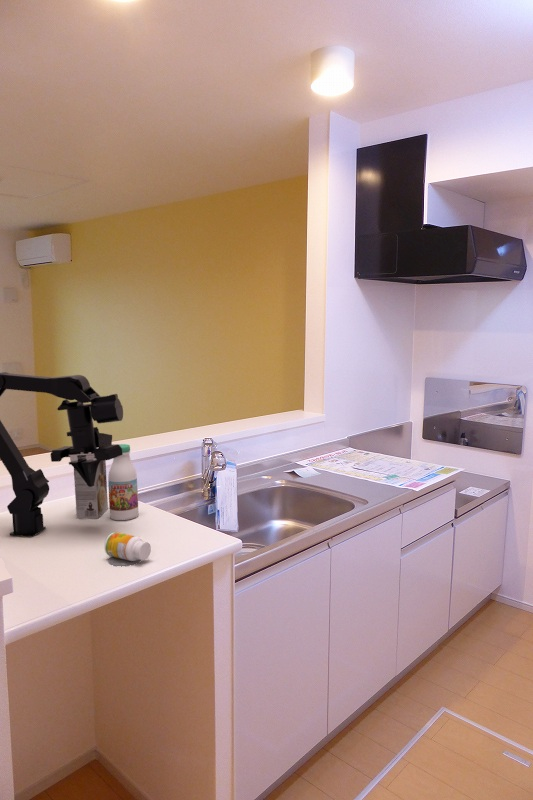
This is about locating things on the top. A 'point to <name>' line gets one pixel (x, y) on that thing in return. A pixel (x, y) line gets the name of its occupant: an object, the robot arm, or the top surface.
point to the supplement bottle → (127, 547)
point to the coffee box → (91, 494)
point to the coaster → (121, 562)
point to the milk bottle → (123, 487)
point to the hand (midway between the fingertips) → (91, 486)
